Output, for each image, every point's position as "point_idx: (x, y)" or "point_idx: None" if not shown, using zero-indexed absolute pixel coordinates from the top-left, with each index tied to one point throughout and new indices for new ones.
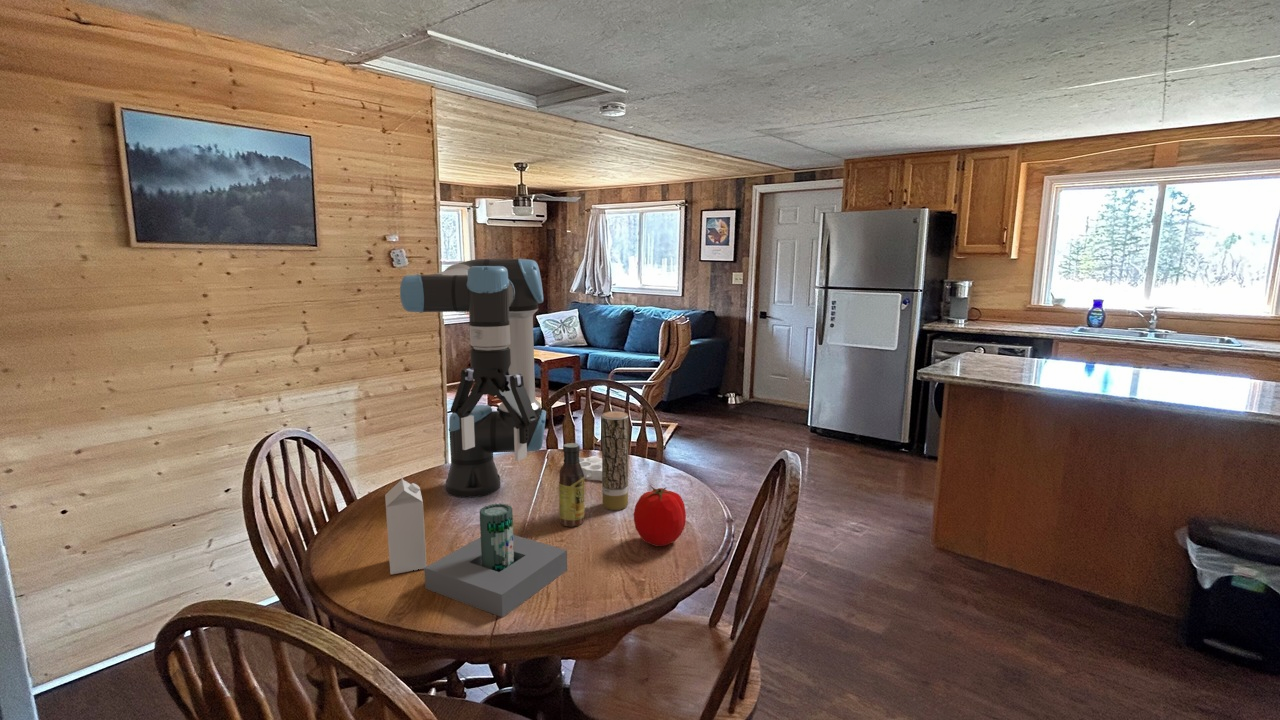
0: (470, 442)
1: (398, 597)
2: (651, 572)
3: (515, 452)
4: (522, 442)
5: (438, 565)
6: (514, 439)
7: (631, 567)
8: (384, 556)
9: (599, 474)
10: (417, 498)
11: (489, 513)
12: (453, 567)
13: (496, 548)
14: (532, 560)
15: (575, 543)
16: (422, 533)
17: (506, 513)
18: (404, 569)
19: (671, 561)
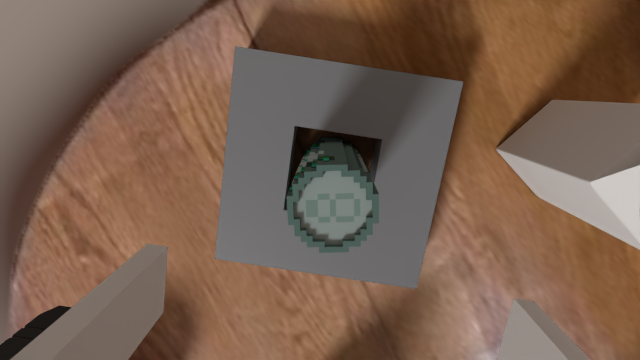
0: (519, 356)
1: (480, 35)
2: (81, 285)
3: (140, 265)
4: (64, 312)
5: (438, 102)
6: (99, 307)
7: None
8: None
9: None
10: (611, 175)
11: (343, 190)
12: (400, 106)
13: (313, 154)
14: (257, 194)
15: (266, 336)
16: (538, 159)
17: (287, 197)
18: (533, 119)
19: None
